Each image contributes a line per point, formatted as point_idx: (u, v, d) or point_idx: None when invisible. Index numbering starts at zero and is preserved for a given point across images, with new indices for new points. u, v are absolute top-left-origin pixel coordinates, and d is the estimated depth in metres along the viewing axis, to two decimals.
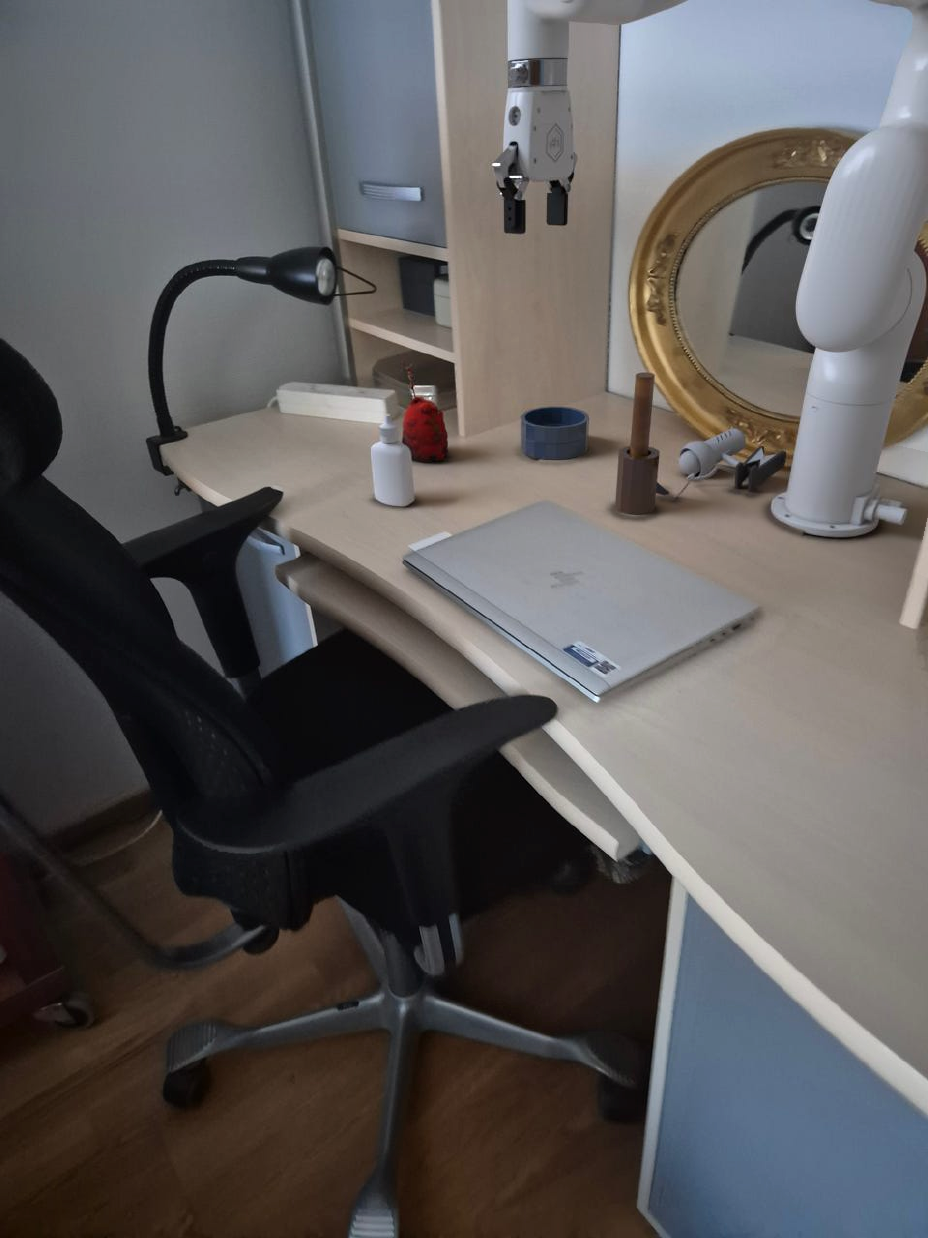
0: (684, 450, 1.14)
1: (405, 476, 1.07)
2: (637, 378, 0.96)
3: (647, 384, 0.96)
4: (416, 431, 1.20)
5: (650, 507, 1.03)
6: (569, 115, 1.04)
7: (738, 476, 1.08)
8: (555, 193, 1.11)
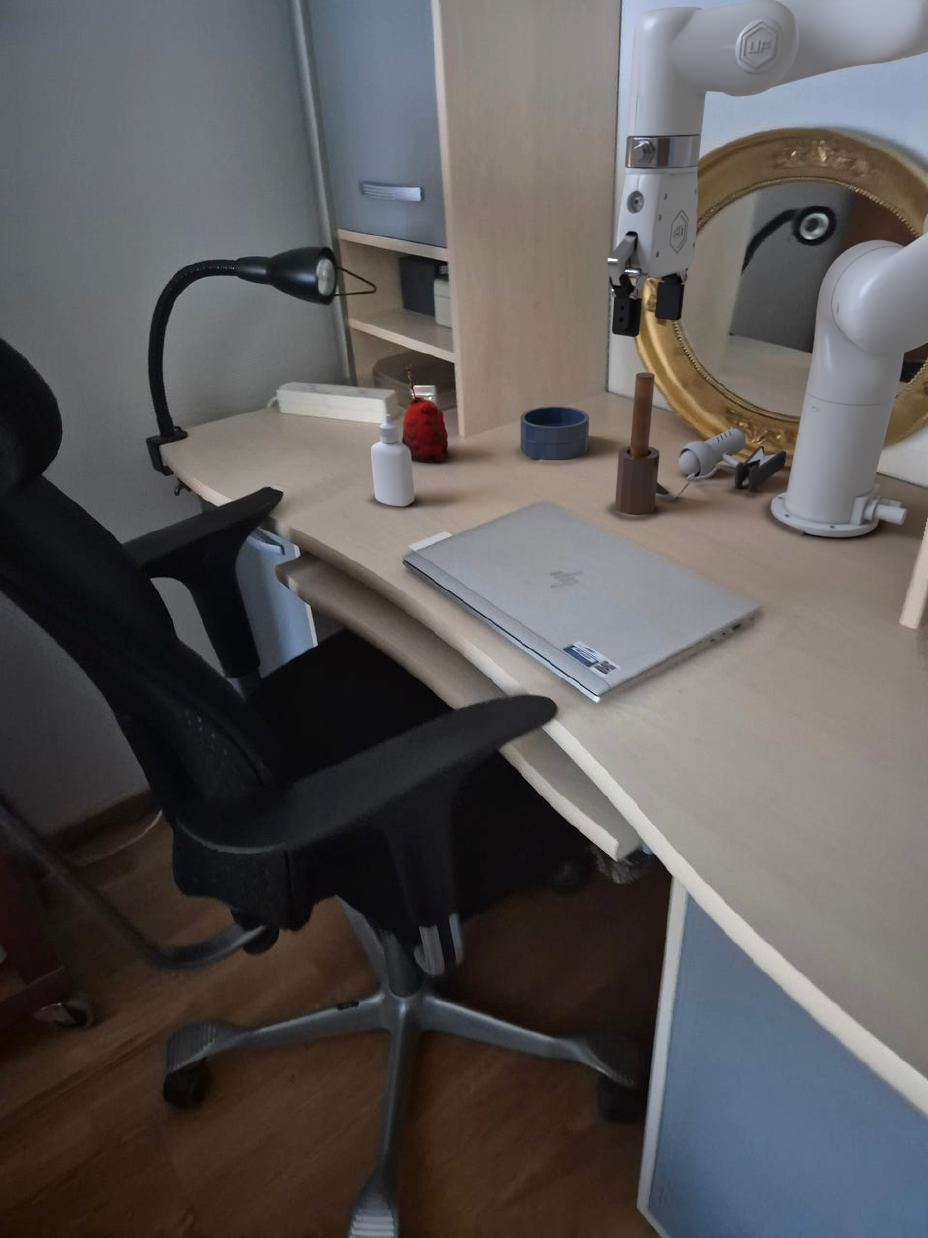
0: (684, 450, 1.14)
1: (405, 476, 1.07)
2: (637, 378, 0.96)
3: (647, 384, 0.96)
4: (416, 431, 1.20)
5: (650, 507, 1.03)
6: (695, 198, 0.87)
7: (738, 476, 1.08)
8: (668, 283, 0.94)
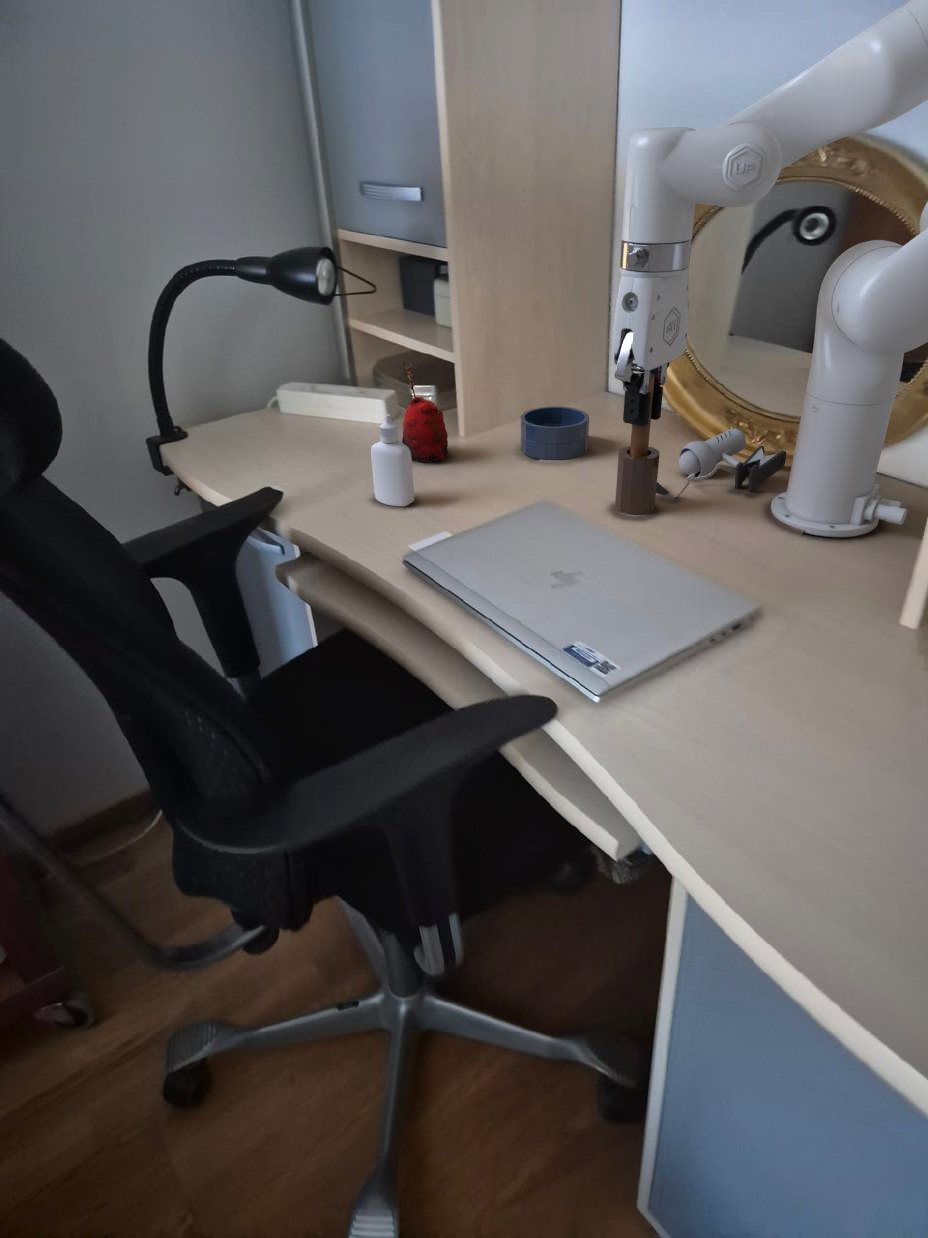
0: (684, 450, 1.14)
1: (405, 476, 1.07)
2: None
3: None
4: (416, 431, 1.20)
5: (650, 507, 1.03)
6: (687, 294, 0.92)
7: (738, 476, 1.08)
8: None
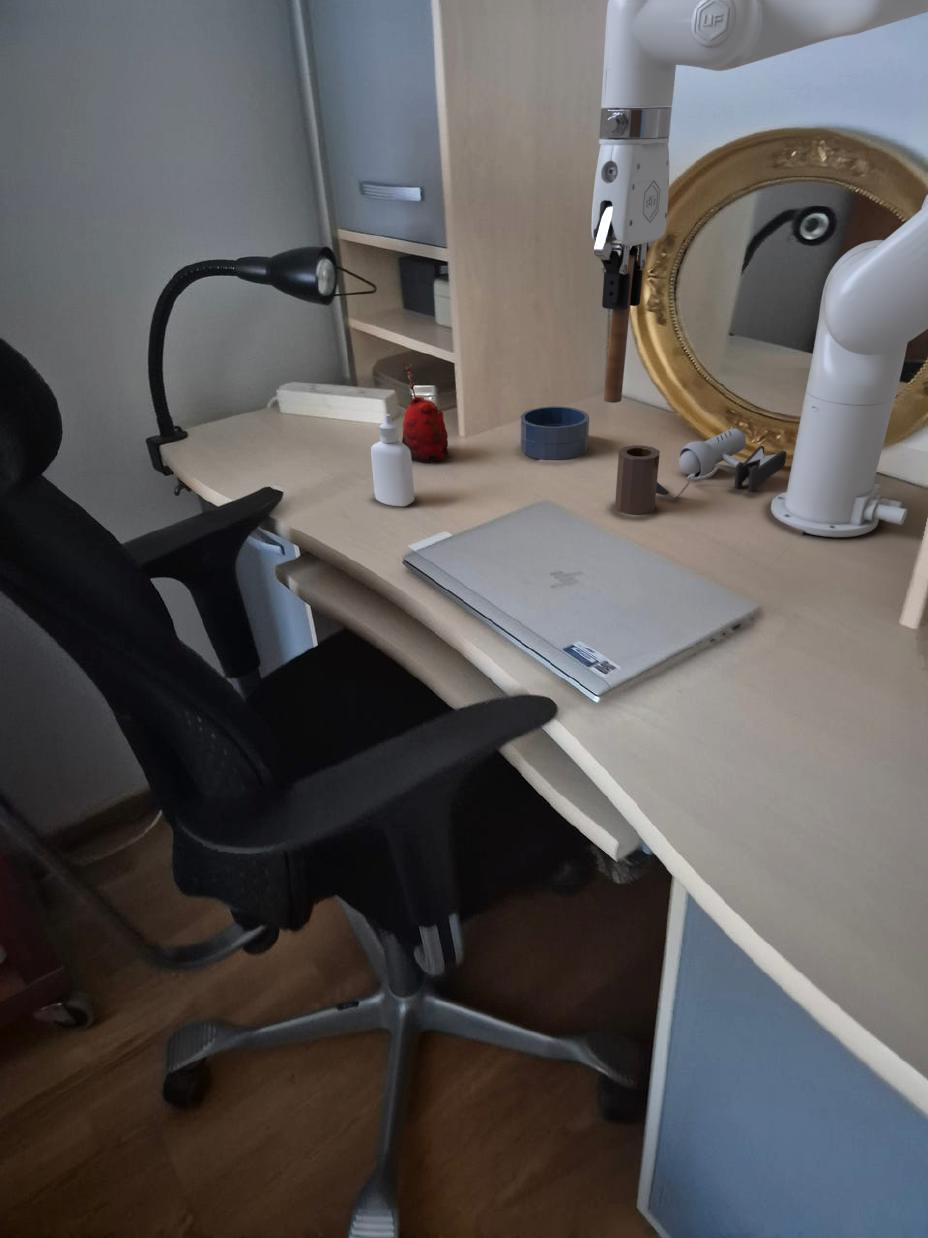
0: (684, 450, 1.14)
1: (405, 476, 1.07)
2: None
3: None
4: (416, 431, 1.20)
5: (650, 507, 1.03)
6: (667, 169, 0.91)
7: (738, 476, 1.08)
8: None
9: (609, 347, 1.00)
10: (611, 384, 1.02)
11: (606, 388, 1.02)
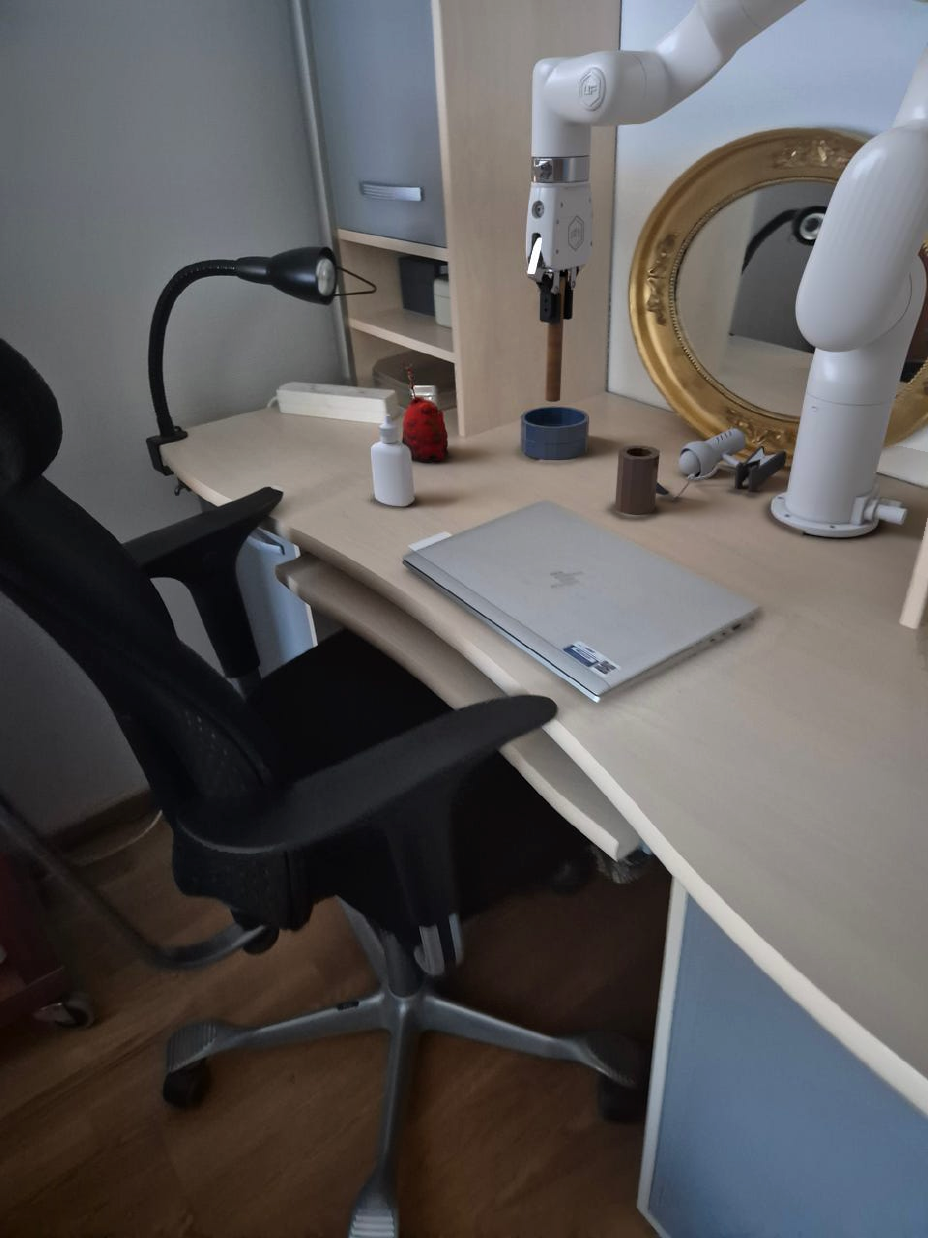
0: (684, 450, 1.14)
1: (405, 476, 1.07)
2: None
3: (559, 285, 1.11)
4: (416, 431, 1.20)
5: (650, 507, 1.03)
6: (590, 206, 1.08)
7: (738, 476, 1.08)
8: None
9: (547, 354, 1.17)
10: (550, 386, 1.19)
11: (546, 389, 1.20)
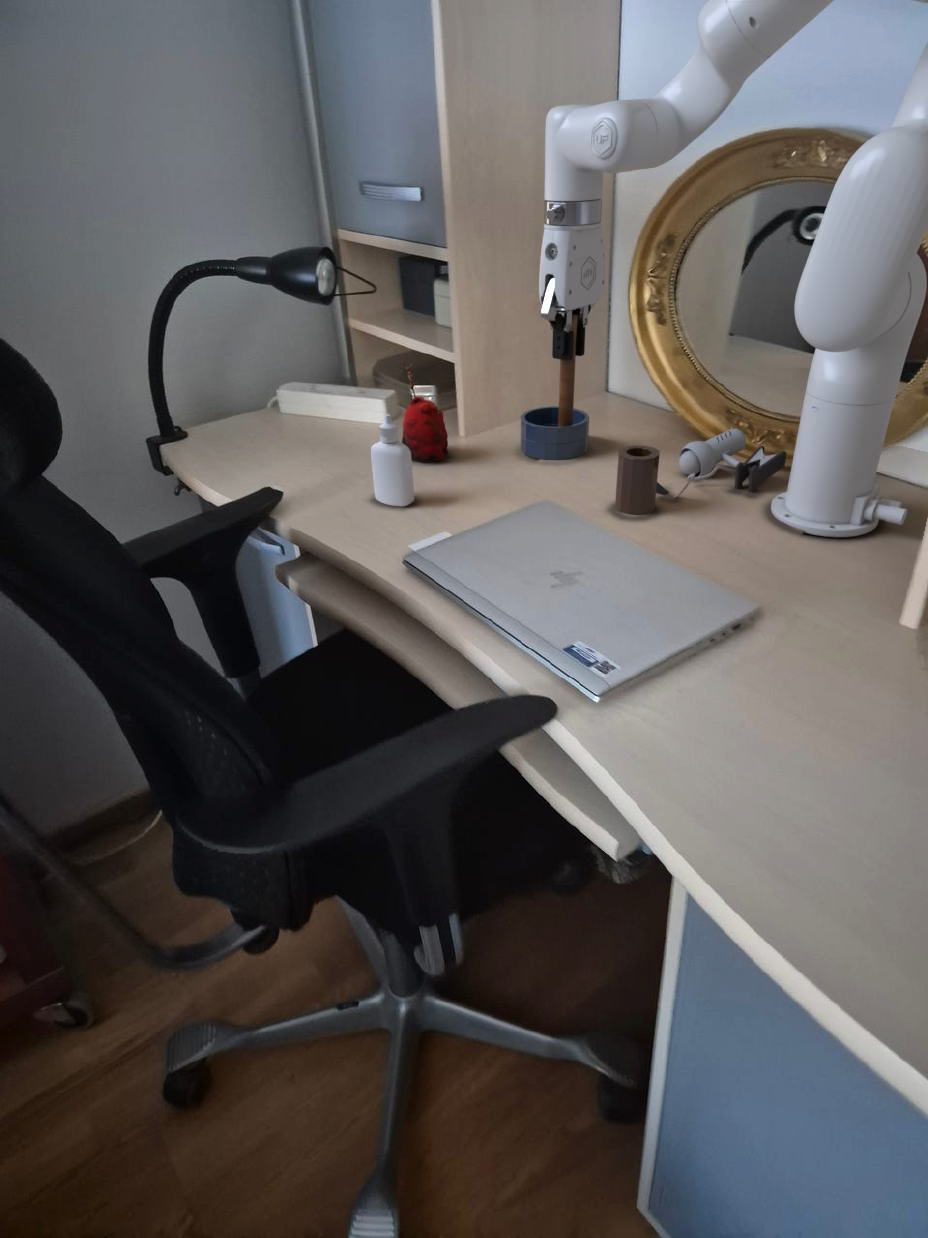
0: (684, 450, 1.14)
1: (405, 476, 1.07)
2: None
3: (571, 324, 1.13)
4: (416, 431, 1.20)
5: (650, 507, 1.03)
6: (602, 246, 1.10)
7: (738, 476, 1.08)
8: None
9: (560, 390, 1.19)
10: (562, 420, 1.21)
11: (559, 423, 1.21)
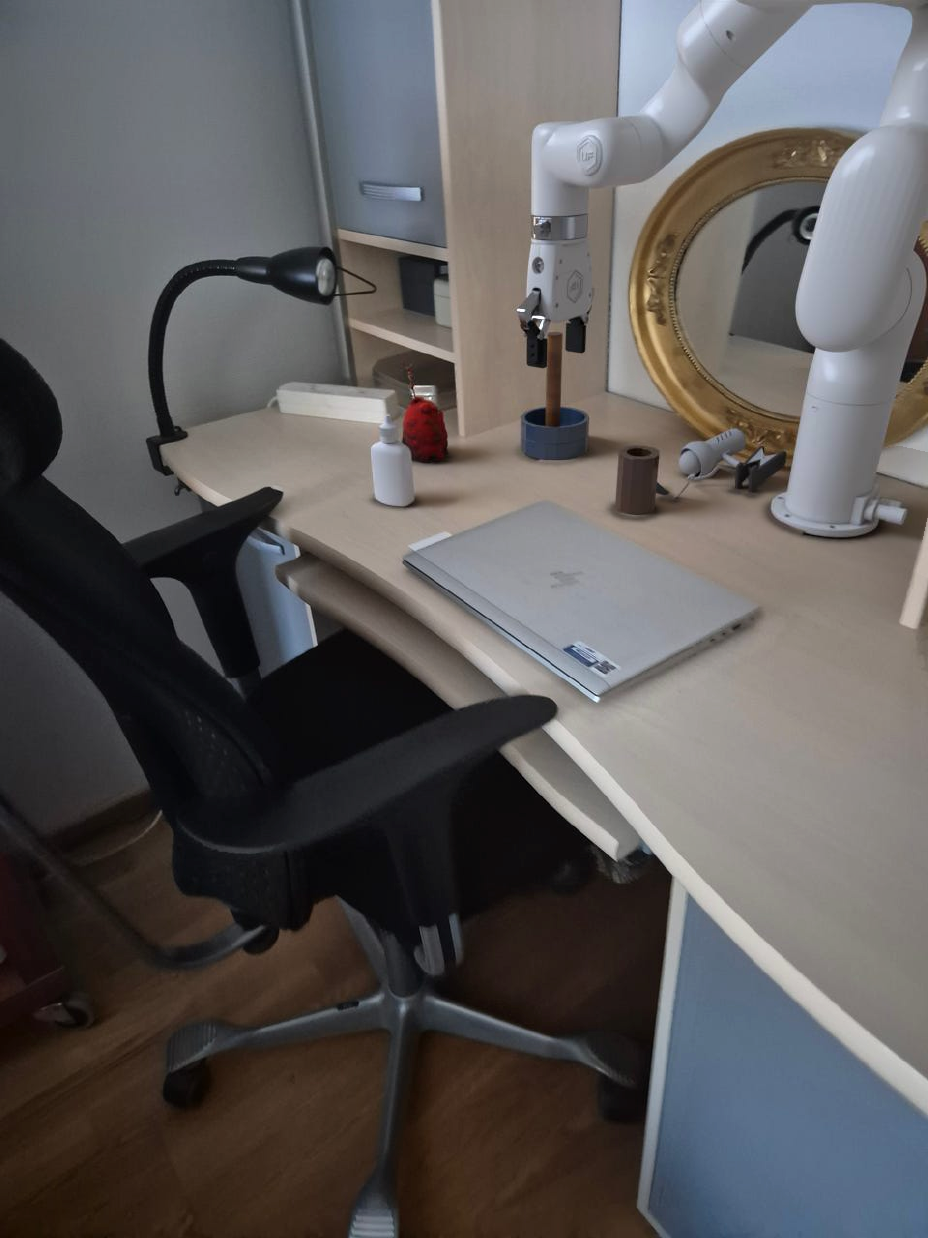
0: (684, 450, 1.14)
1: (405, 476, 1.07)
2: (548, 336, 1.15)
3: (556, 341, 1.15)
4: (416, 431, 1.20)
5: (650, 507, 1.03)
6: (588, 260, 1.11)
7: (738, 477, 1.08)
8: (573, 324, 1.18)
9: (546, 405, 1.21)
10: None
11: None
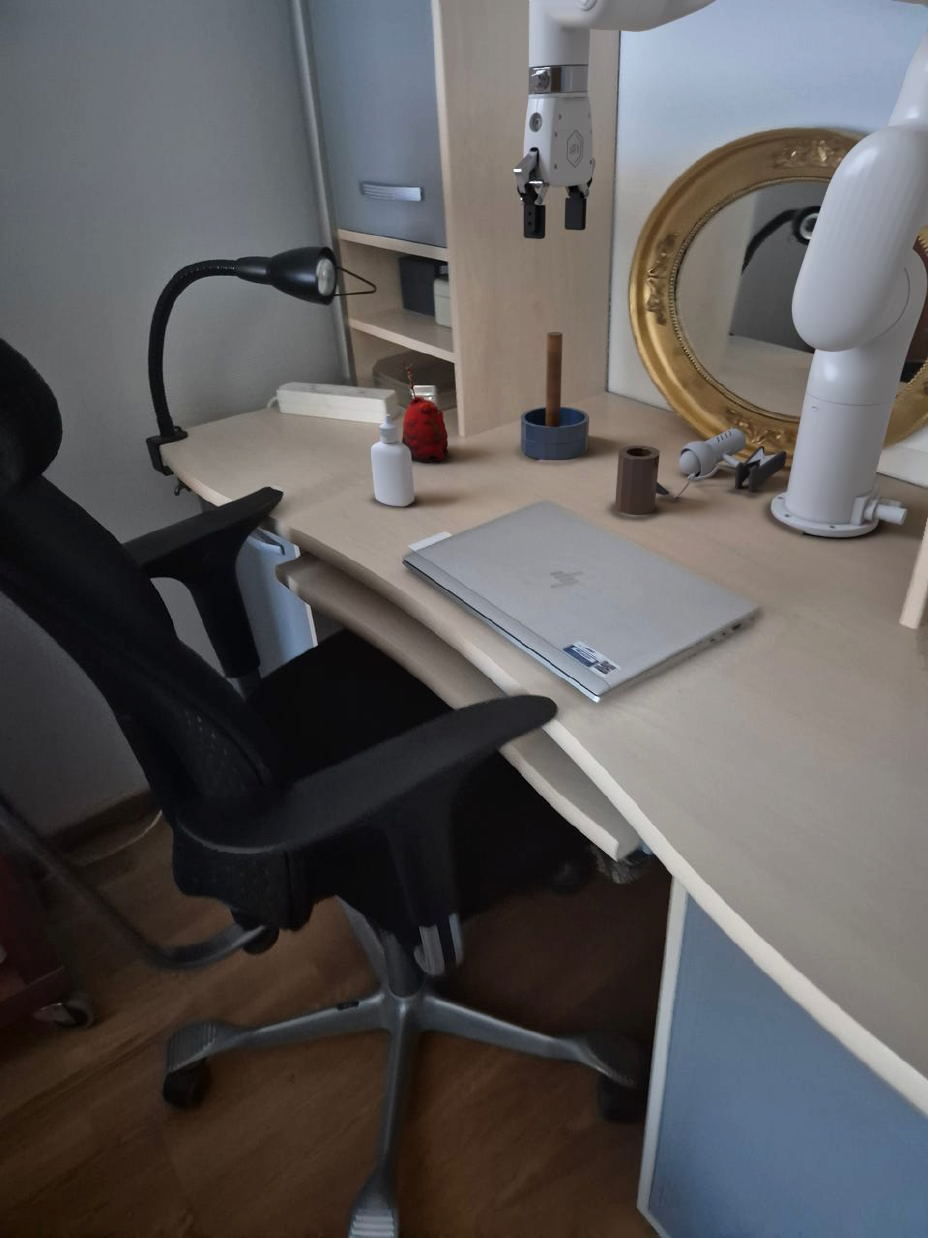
0: (684, 450, 1.14)
1: (405, 476, 1.07)
2: (548, 336, 1.15)
3: (556, 341, 1.15)
4: (416, 431, 1.20)
5: (650, 507, 1.03)
6: (589, 121, 1.05)
7: (738, 477, 1.08)
8: (573, 197, 1.12)
9: (546, 405, 1.21)
10: None
11: None
